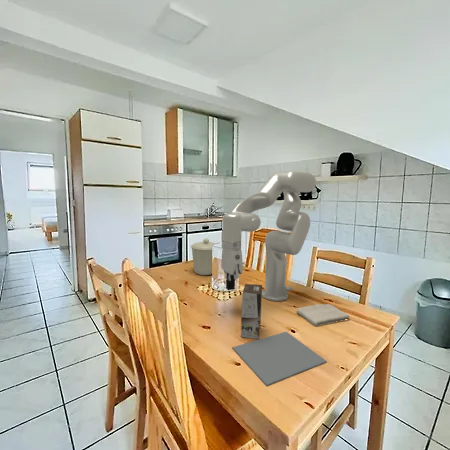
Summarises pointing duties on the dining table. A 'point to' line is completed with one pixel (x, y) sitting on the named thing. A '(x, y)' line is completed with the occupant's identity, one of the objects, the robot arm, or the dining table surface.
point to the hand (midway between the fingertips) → (230, 289)
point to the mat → (278, 357)
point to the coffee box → (251, 311)
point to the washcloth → (321, 314)
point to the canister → (202, 257)
